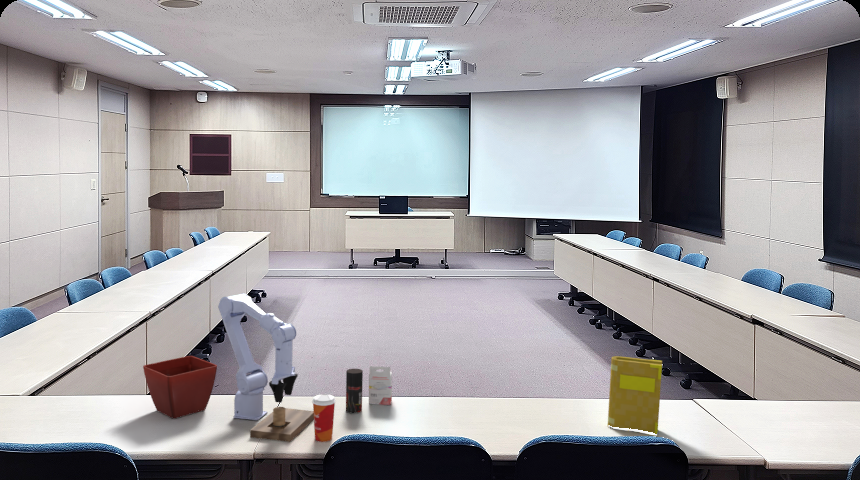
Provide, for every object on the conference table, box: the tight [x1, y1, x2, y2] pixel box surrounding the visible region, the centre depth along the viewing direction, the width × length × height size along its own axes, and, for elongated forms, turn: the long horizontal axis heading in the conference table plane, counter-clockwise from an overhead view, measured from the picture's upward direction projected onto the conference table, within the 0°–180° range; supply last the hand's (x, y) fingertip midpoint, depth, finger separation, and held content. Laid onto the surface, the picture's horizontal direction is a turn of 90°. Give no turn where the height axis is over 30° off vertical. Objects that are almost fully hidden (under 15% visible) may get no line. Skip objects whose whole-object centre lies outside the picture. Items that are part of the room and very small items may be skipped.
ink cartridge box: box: [368, 365, 393, 406], centre depth 257 cm, size 9×5×15 cm, turn 87°
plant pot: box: [142, 355, 218, 419], centre depth 243 cm, size 19×19×17 cm
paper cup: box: [311, 394, 337, 443], centre depth 221 cm, size 8×8×14 cm
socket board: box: [249, 407, 314, 443], centre depth 230 cm, size 14×22×2 cm, turn 169°
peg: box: [272, 406, 285, 429], centre depth 226 cm, size 4×4×8 cm
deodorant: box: [345, 368, 364, 414], centre depth 248 cm, size 6×6×15 cm
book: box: [607, 355, 663, 434], centre depth 237 cm, size 17×7×25 cm, turn 71°
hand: (283, 398), depth 231 cm, fingers open, 7 cm apart
